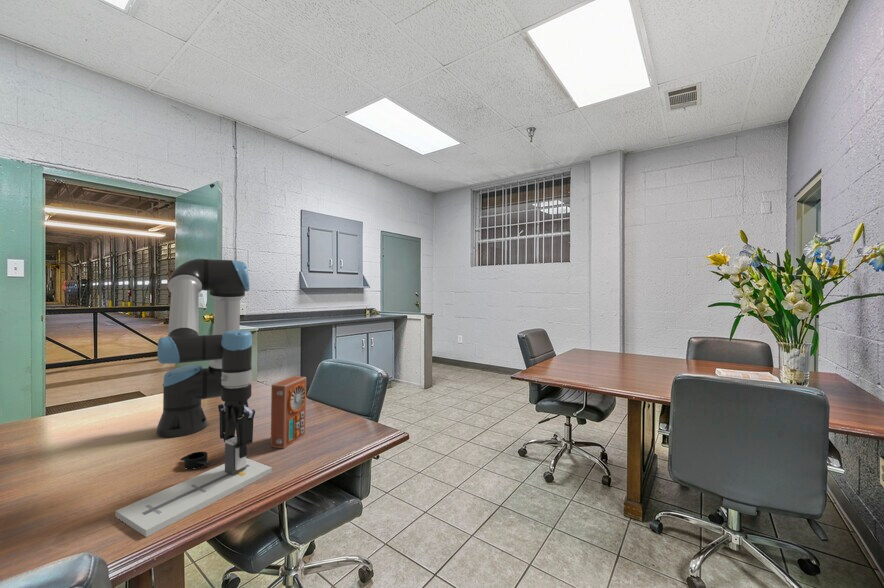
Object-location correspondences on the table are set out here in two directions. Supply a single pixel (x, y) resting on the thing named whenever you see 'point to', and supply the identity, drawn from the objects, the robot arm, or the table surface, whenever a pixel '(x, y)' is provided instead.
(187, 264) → the robot arm
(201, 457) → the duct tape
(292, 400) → the control panel
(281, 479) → the table surface
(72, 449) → the table surface
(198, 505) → the fader board
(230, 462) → the slider handle
